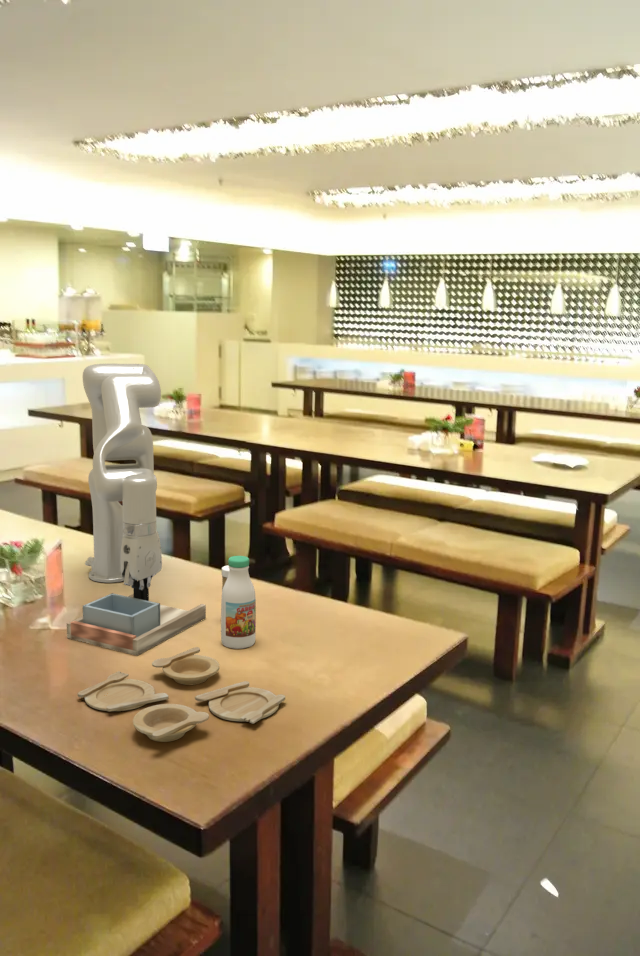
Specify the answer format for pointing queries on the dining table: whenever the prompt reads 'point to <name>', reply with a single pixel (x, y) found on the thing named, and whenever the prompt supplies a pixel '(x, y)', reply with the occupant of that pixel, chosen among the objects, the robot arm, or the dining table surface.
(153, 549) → the robot arm
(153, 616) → the box
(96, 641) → the bay
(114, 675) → the tableware set
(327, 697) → the dining table surface
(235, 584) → the milk bottle
